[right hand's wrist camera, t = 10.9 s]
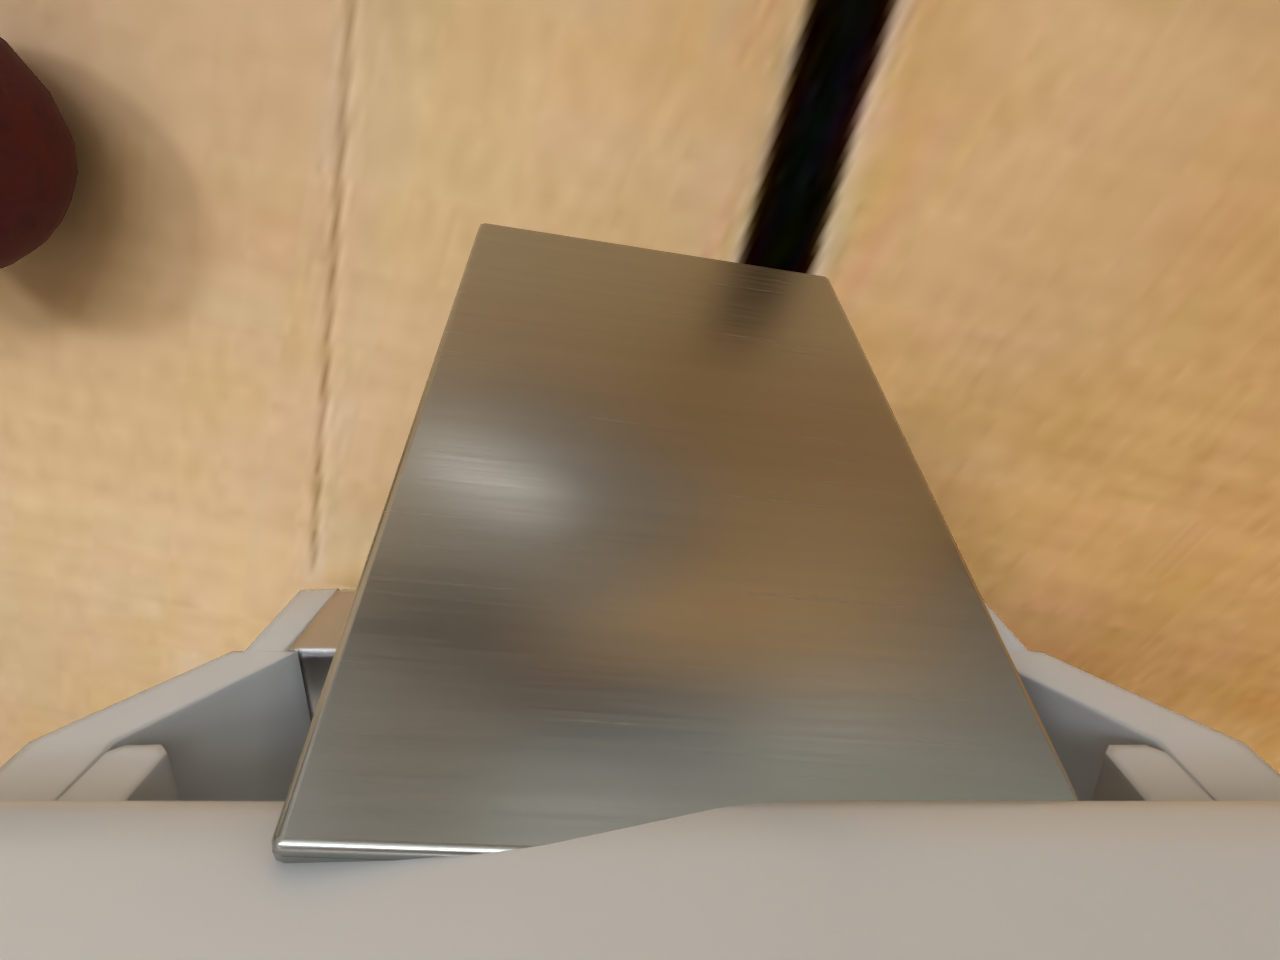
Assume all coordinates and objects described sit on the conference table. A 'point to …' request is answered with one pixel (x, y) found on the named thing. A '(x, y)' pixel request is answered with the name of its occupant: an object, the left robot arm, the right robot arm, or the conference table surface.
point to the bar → (650, 577)
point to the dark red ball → (30, 160)
